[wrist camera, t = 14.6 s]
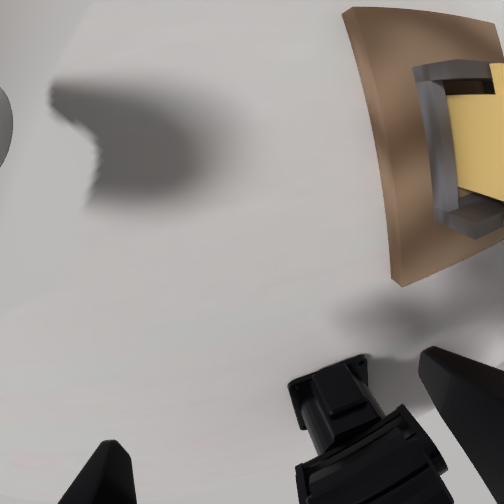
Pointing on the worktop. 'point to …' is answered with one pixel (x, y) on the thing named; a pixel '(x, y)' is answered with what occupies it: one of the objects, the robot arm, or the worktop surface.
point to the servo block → (480, 137)
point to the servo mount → (425, 131)
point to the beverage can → (5, 125)
